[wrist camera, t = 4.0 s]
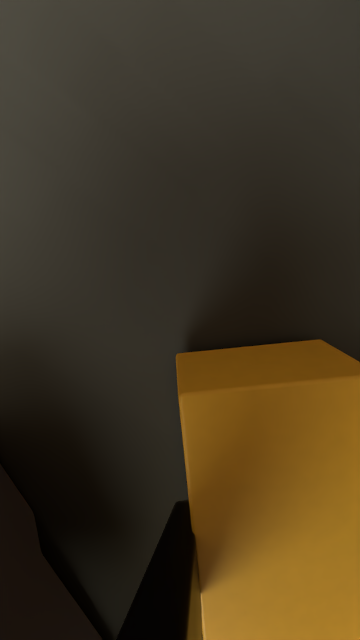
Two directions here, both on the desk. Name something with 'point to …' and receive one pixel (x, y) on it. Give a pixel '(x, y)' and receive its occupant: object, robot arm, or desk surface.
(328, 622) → the block
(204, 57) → the desk surface
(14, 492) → the calculator
